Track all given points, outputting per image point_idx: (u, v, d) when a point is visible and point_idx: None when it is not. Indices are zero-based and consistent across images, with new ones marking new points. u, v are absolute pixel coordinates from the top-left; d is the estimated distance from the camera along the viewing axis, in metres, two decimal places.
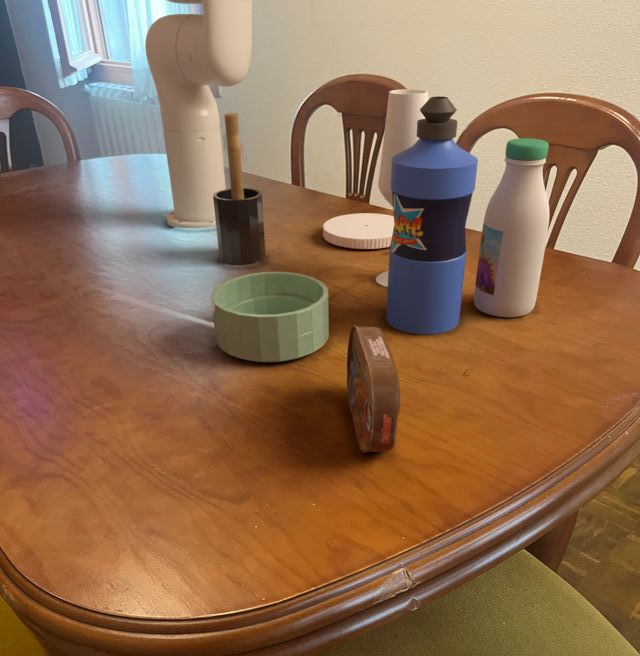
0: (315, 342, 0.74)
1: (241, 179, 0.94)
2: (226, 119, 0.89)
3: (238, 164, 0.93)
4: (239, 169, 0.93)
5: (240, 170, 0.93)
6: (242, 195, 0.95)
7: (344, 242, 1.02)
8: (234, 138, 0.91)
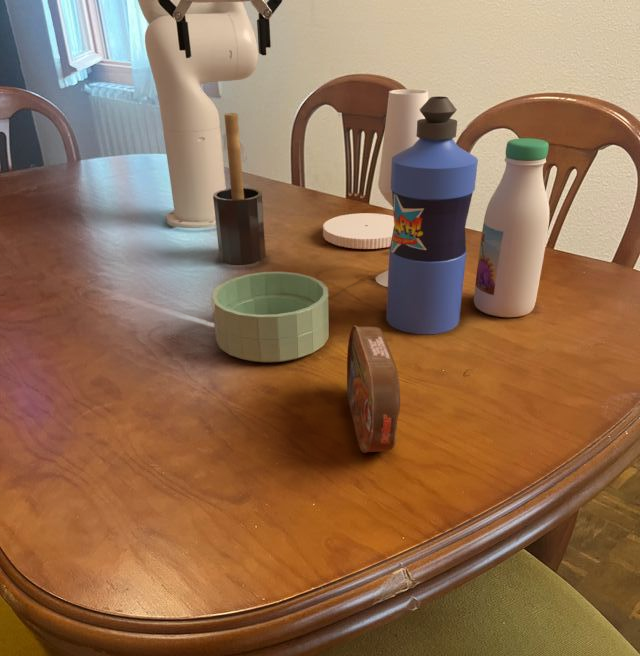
0: (315, 342, 0.74)
1: (241, 179, 0.94)
2: (226, 119, 0.89)
3: (238, 164, 0.93)
4: (239, 169, 0.93)
5: (240, 170, 0.93)
6: (242, 195, 0.95)
7: (344, 242, 1.02)
8: (234, 138, 0.91)
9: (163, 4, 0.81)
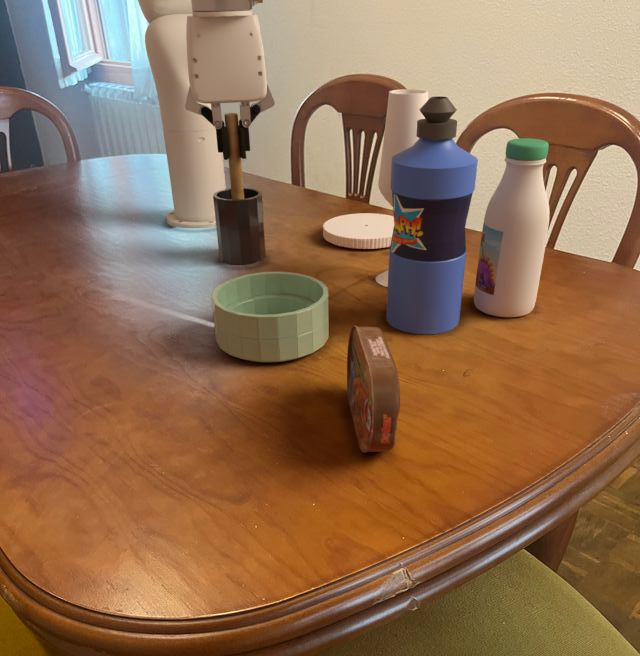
0: (315, 342, 0.74)
1: (241, 179, 0.94)
2: (226, 119, 0.89)
3: (238, 164, 0.93)
4: (239, 169, 0.93)
5: (240, 170, 0.93)
6: (242, 195, 0.95)
7: (344, 242, 1.02)
8: (234, 138, 0.91)
9: (205, 114, 0.88)
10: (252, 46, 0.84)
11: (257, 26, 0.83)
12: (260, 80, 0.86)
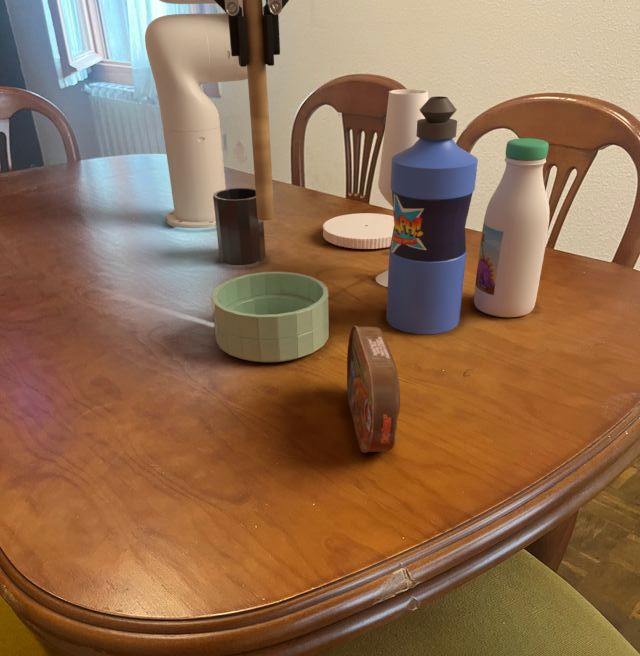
0: (315, 342, 0.74)
1: (266, 98, 0.63)
2: (245, 0, 0.59)
3: (262, 74, 0.62)
4: (263, 82, 0.62)
5: (265, 84, 0.62)
6: (267, 124, 0.64)
7: (344, 242, 1.02)
8: (256, 32, 0.60)
9: None
10: None
11: None
12: None
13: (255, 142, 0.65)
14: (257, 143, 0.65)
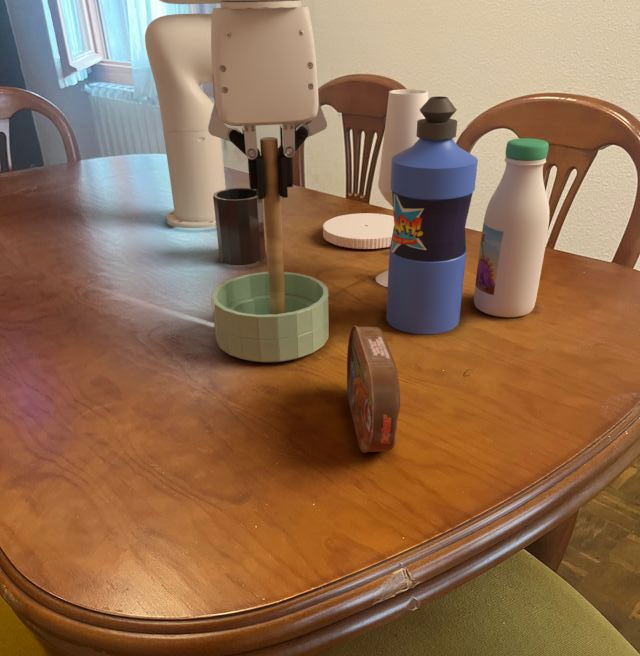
0: (315, 342, 0.74)
1: (280, 223, 0.72)
2: (263, 146, 0.67)
3: (277, 204, 0.70)
4: (278, 210, 0.71)
5: (279, 211, 0.71)
6: (280, 243, 0.73)
7: (344, 242, 1.02)
8: (272, 170, 0.68)
9: (234, 140, 0.66)
10: (301, 49, 0.61)
11: (309, 22, 0.61)
12: (310, 95, 0.64)
13: (270, 258, 0.74)
14: (271, 259, 0.74)
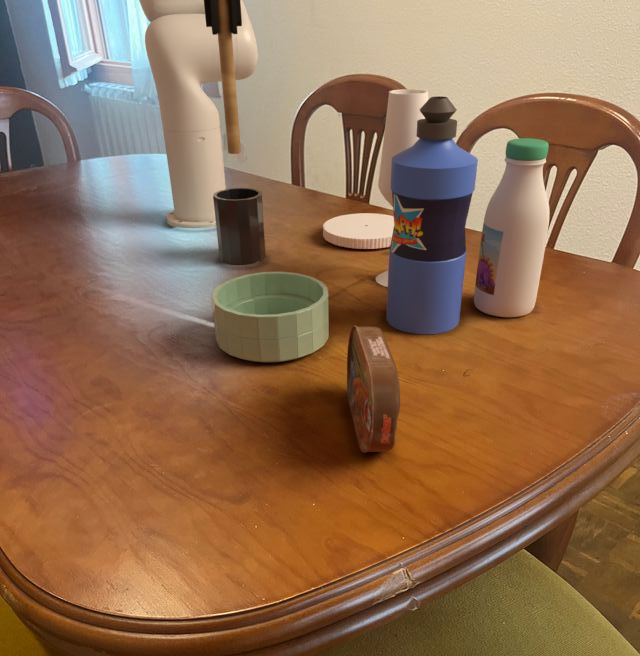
0: (315, 342, 0.74)
1: (232, 59, 0.85)
2: None
3: (229, 40, 0.84)
4: (230, 46, 0.84)
5: (231, 47, 0.84)
6: (233, 78, 0.86)
7: (344, 242, 1.02)
8: (224, 8, 0.82)
9: None
10: None
11: None
12: None
13: (225, 92, 0.87)
14: (226, 93, 0.87)
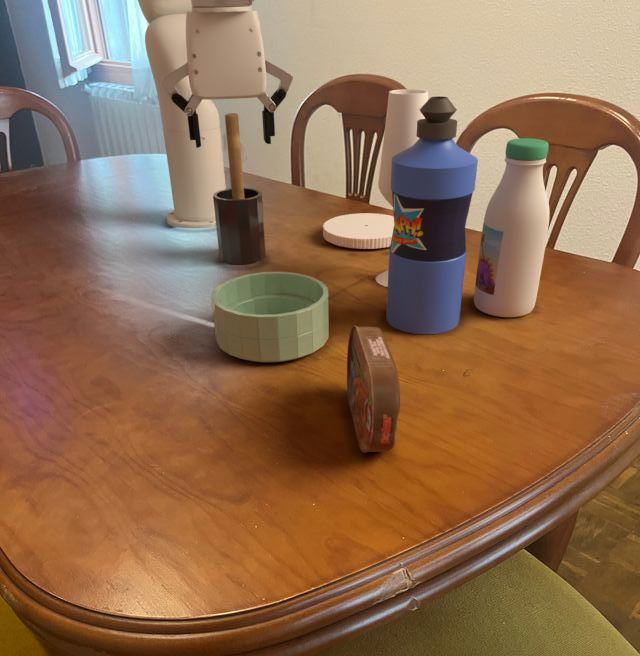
0: (315, 342, 0.74)
1: (241, 179, 0.94)
2: (226, 119, 0.89)
3: (238, 164, 0.93)
4: (240, 169, 0.93)
5: (240, 170, 0.93)
6: (242, 195, 0.95)
7: (344, 242, 1.02)
8: (234, 138, 0.90)
9: (175, 101, 0.87)
10: (252, 42, 0.84)
11: (257, 22, 0.83)
12: (260, 76, 0.86)
13: None
14: None
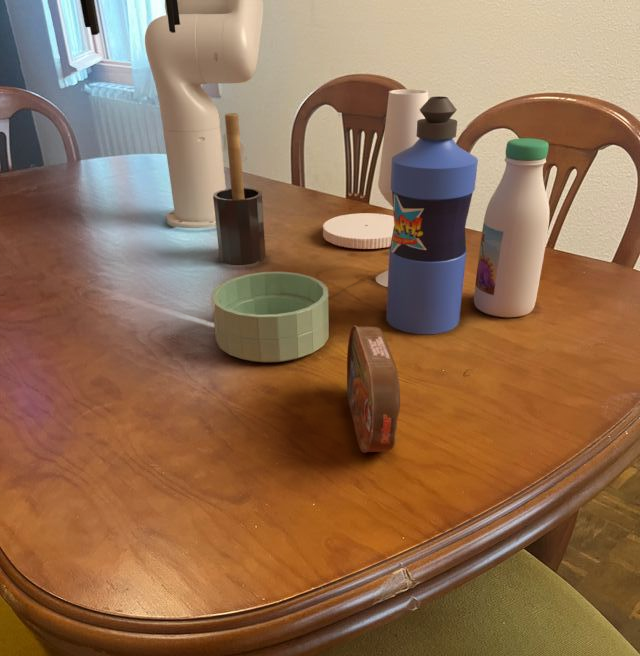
0: (315, 342, 0.74)
1: (241, 179, 0.94)
2: (226, 119, 0.89)
3: (238, 164, 0.93)
4: (240, 169, 0.93)
5: (240, 170, 0.93)
6: (242, 195, 0.95)
7: (344, 242, 1.02)
8: (234, 138, 0.90)
9: None
10: None
11: None
12: None
13: None
14: None
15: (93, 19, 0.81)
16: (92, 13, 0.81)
